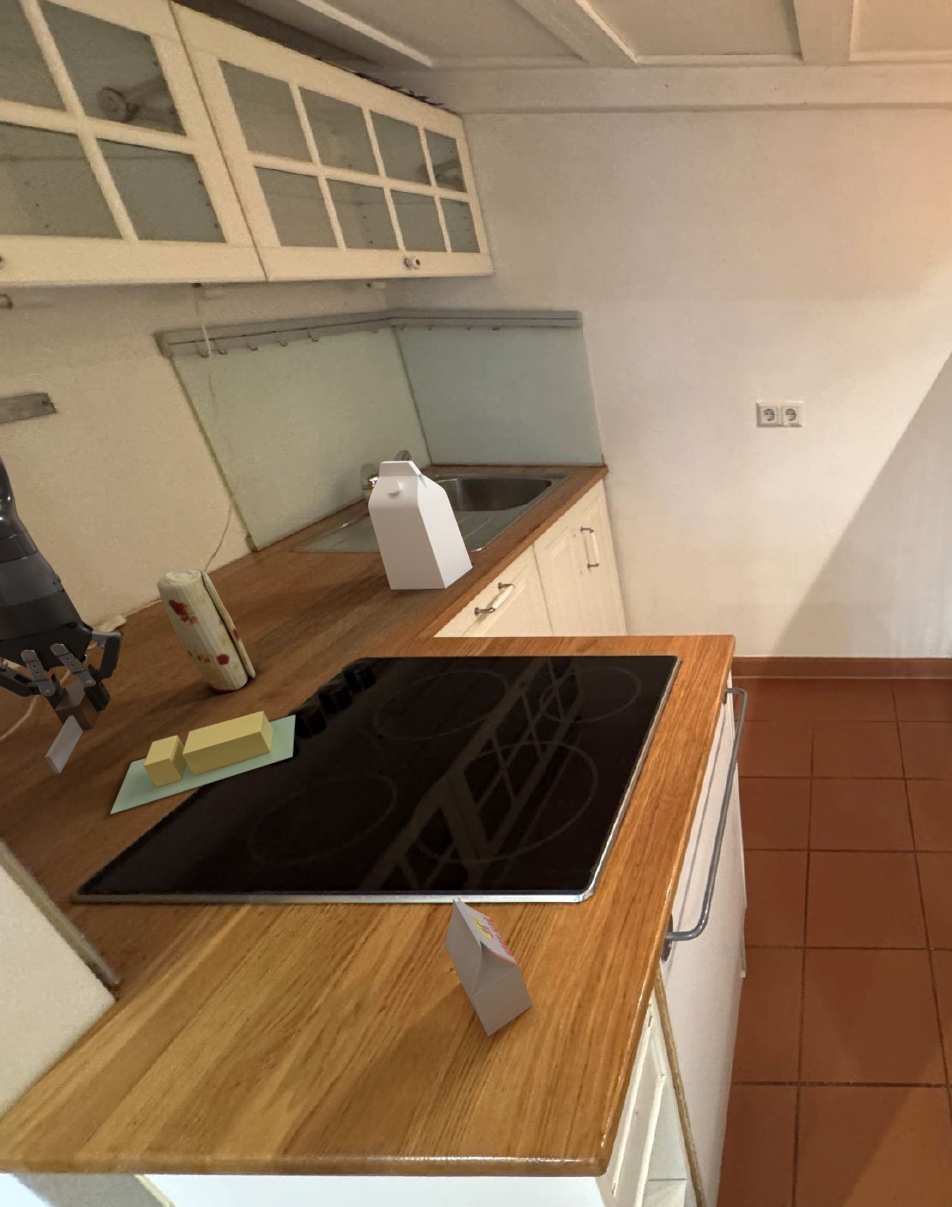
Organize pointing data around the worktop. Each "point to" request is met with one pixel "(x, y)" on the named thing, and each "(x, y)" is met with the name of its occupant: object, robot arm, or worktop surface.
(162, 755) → the block
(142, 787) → the butter dish
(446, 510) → the milk
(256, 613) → the worktop surface
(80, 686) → the butter knife
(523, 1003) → the gable top carton
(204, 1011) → the worktop surface
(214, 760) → the butter block
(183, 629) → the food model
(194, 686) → the worktop surface
